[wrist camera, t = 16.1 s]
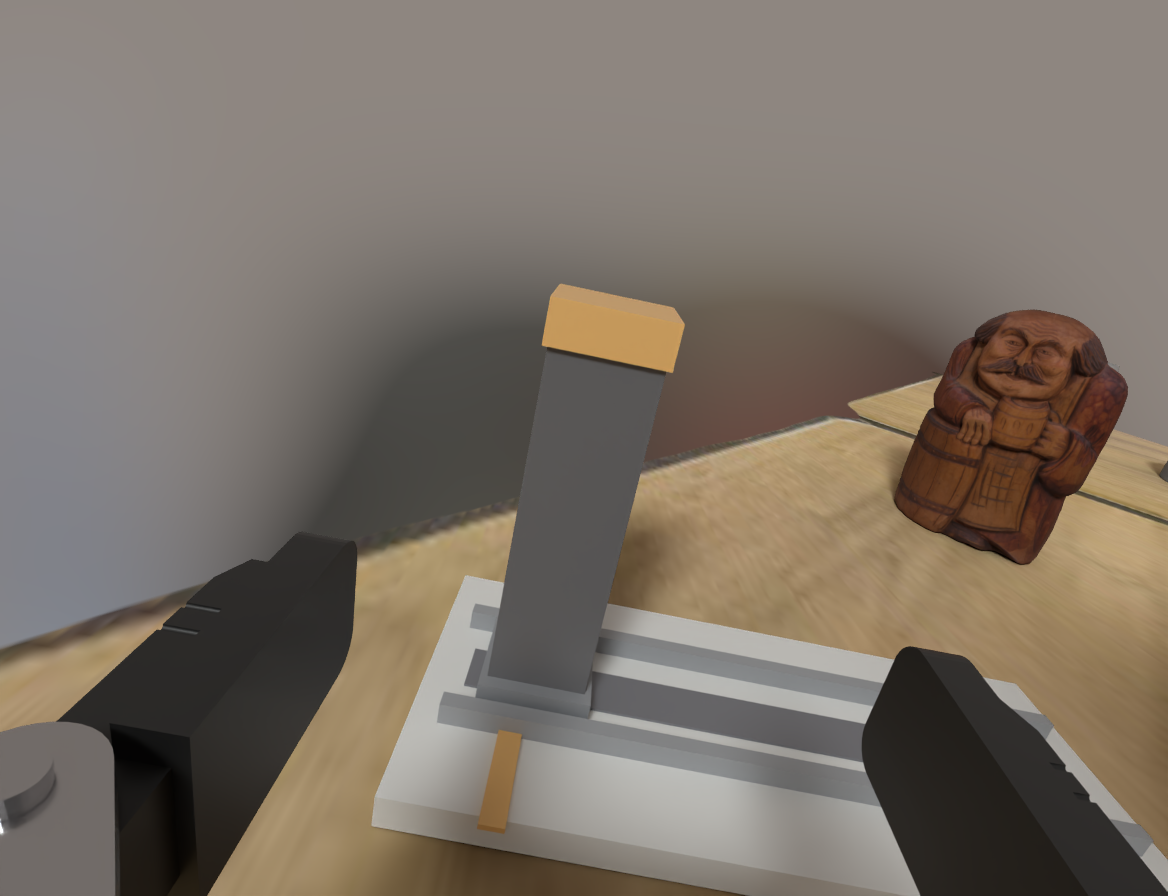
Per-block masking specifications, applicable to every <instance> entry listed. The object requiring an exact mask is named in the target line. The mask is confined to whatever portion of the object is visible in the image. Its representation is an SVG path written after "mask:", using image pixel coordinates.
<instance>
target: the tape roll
mask: <svg viewBox="0 0 1168 896" xmlns="http://www.w3.org/2000/svg"><path fill="white" fill-rule="evenodd" d="M1160 477H1161V478H1162V479H1163V480H1165V481H1166V482H1168V461H1167V463H1166V464H1165V466H1164V468H1163V469H1162V471H1161V473H1160Z"/></svg>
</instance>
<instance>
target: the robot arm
mask: <svg viewBox="0 0 1168 896" xmlns="http://www.w3.org/2000/svg"><path fill="white" fill-rule="evenodd" d="M356 569H357V547H356V544H355V542H354V541H350V540H344V539H338V538H333V537H328V536H322V535H317V534H312V533H307V532H299V533H297V534H295V536H293V537H292V538H291V539H290V540H289V541H288V542H287V543H286V544H285V545H284V547H282V548H281V549H280V550H279V551H278V552H277V553H276V554H275V555H274V557H272V558H271V559H270V560H269V561H268V562H264V561H259V560H253V559H251V560H249V561H247V562H245V563H243V564H241V565H239V566H237V567H234V568H232V569H230V570H228V571H226V572H224V573H222V574H220V575H218V576H216V577H214V578H213V579H212V580H210V581H209V582H208V583H207V584H206V585H205V586H204V587H203V588H202V589H201V590H200V591H198V592H197V593H196V594H195V595H194V596H193V597H192V598H191V599H190V600H189V601H188V602H187V604H186V607H185V608H182V607H181V608H180V609H179V610H178V611H177V612H176V613H174V614H173V615H172V616H171V617H170V618H169V619H168V620H167V621H166V622H165V623H164V624H163V627H162V629H161V630H156V631H155V632H154V633H153V634H152V635H150V636H149V637H148V638H147V639H146V640H145V641H144V642H143V643H142V644H141V645H140V646H138V647H137V648H136V649H135V650H134V651H133V652H132V653H131V654H130V655H129V656H128V657H126V658H125V659H124V660H123V661H122V662H121V663H120V664H119V665H118V666H117V667H115V668H114V669H113V670H112V671H111V672H110V673H109V674H108V675H107V676H106V677H105V678H103V679H102V680H101V681H100V682H99V683H98V684H97V685H96V686H95V687H94V688H93V689H91V690H90V691H89V692H88V693H87V694H86V695H85V696H84V697H83V698H82V699H81V700H79V701H78V702H77V703H76V704H75V705H74V706H73V707H72V708H71V709H70V710H69V711H67V712H66V713H65V714H64V715H63V716H62V717H61V718H60V719H59V720H57V721H56V722H46V723H36V724H31V725H26V726H21V727H17V728H14V729H10V730H7V731H3V732H0V896H207V895H208V893H209V892H210V890H211V888H212V887H213V885H214V883H215V881H216V880H217V878H218V876H219V875H220V873H221V871H222V870H223V868H224V866H225V865H226V863H227V861H228V860H229V858H230V856H231V855H232V853H233V851H234V850H235V848H236V846H237V845H238V843H239V841H240V840H241V838H242V836H243V835H244V833H245V831H246V830H247V828H248V826H249V824H250V823H251V821H252V819H253V818H254V816H255V814H256V813H257V811H258V809H259V808H260V806H261V804H262V803H263V801H264V799H265V798H266V796H267V794H268V793H269V791H270V789H271V788H272V786H273V784H274V783H275V781H276V779H277V778H278V776H279V774H280V773H281V771H282V769H283V767H284V766H285V764H286V762H287V761H288V759H289V757H290V756H291V754H292V752H293V751H294V749H295V747H296V746H297V744H298V742H299V741H300V739H301V737H302V736H303V734H304V732H305V731H306V729H307V727H308V726H309V724H310V722H311V721H312V719H313V717H314V715H315V714H316V712H317V710H318V709H319V707H320V705H321V704H322V702H323V700H324V699H325V697H326V695H327V694H328V692H329V690H330V689H331V687H332V685H333V684H334V682H335V680H336V679H337V677H338V675H339V673H340V671H341V669H342V667H343V665H344V662H345V660H346V657H347V654H348V651H349V647H350V643H351V638H352V632H353V619H354V603H355V586H356ZM862 759H863V764H864V768H865V771H866V773H867V776H868V778H869V780H870V783H871V785H872V787H873V789H874V792H875V794H876V796H877V799H878V801H879V803H880V805H881V808H882V810H883V812H884V814H885V817H886V819H887V821H888V823H889V826H890V828H891V830H892V833H893V835H894V837H895V839H896V842H897V844H898V846H899V848H900V851H901V853H902V855H903V858H904V860H905V862H906V864H907V867H908V869H909V871H910V873H911V876H912V878H913V880H914V882H915V885H916V887H917V889H918V892H919V894H920V896H1168V891H1167V890H1166V889H1165V888H1164V886H1163V885H1162V884H1161V883H1160V881H1159V880H1158V879H1157V878H1156V876H1155V875H1154V874H1153V873H1152V872H1151V870H1150V869H1149V868H1148V867H1147V865H1146V864H1145V863H1144V862H1143V860H1142V859H1141V858H1140V857H1139V855H1138V854H1137V853H1136V852H1135V850H1134V849H1133V848H1132V847H1131V845H1130V844H1129V843H1128V842H1127V840H1126V839H1125V838H1124V837H1123V836H1122V834H1121V833H1120V832H1119V831H1118V829H1117V828H1116V827H1115V826H1114V824H1113V823H1112V822H1111V821H1110V819H1109V818H1108V817H1107V816H1106V814H1105V813H1104V812H1103V811H1102V809H1101V808H1100V807H1099V806H1098V804H1097V803H1094V802H1091V801H1090V799H1089V796H1090V795H1089V793H1088V792H1087V791H1086V790H1085V788H1084V787H1083V786H1082V785H1081V783H1080V782H1079V781H1078V780H1077V778H1076V777H1075V776H1074V775H1073V773H1072V772H1067V771H1066V768H1065V767H1066V765H1065V764H1064V762H1063V761H1062V760H1061V759H1060V757H1059V756H1058V755H1057V754H1056V752H1055V751H1054V750H1053V749H1052V747H1051V746H1050V745H1049V744H1048V742H1047V741H1046V740H1045V739H1044V737H1043V736H1042V735H1041V734H1040V732H1039V731H1038V730H1037V729H1035V728H1034V727H1033V726H1032V725H1031V724H1029V723H1028V722H1027V721H1026V720H1025V719H1023V718H1022V717H1021V716H1020V715H1019V714H1017V713H1016V712H1015V711H1014V710H1013V709H1012V708H1010V707H1009V706H1008V705H1007V704H1006V703H1004V702H1003V701H1002V700H1001V699H999V697H998V696H997V695H996V693H995V692H994V691H993V690H992V688H991V687H990V686H989V684H988V683H987V682H986V681H985V679H984V678H983V677H982V675H981V674H980V673H979V672H978V670H977V669H976V668H975V666H974V665H973V664H972V663H971V662H970V661H969V660H968V659H967V658H965V657H963V656H960V655H954V654H949V653H944V652H938V651H933V650H928V649H922V648H917V647H911V646H909V647H905V648H903V649H902V650H901V651H900V652H899V653H898V654H897V656H896V658H895V660H894V662H893V664H892V666H891V669H890V671H889V673H888V675H887V677H886V680H885V682H884V684H883V686H882V688H881V691H880V693H879V695H878V697H877V699H876V702H875V704H874V706H873V708H872V710H871V713H870V715H869V717H868V719H867V721H866V724H865V726H864V730H863V735H862Z"/></svg>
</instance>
